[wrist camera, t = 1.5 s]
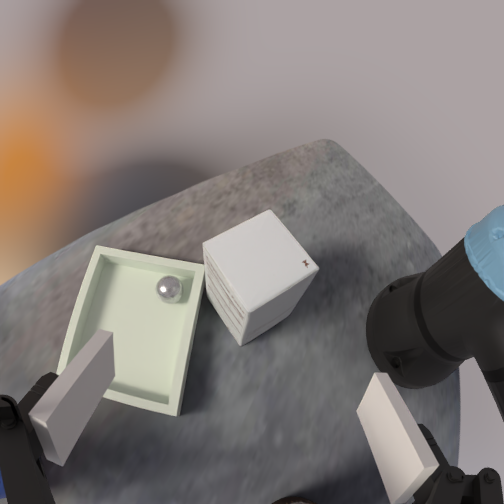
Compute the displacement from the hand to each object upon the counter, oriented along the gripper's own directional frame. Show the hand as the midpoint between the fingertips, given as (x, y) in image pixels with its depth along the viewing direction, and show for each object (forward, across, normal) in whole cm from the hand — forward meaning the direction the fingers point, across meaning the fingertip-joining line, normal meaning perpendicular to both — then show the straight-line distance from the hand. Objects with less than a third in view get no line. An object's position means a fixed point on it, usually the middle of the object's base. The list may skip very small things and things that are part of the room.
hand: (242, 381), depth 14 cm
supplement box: (+22, +1, -6) cm, 23 cm away
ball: (+21, -8, -6) cm, 23 cm away
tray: (+18, -12, -10) cm, 24 cm away
